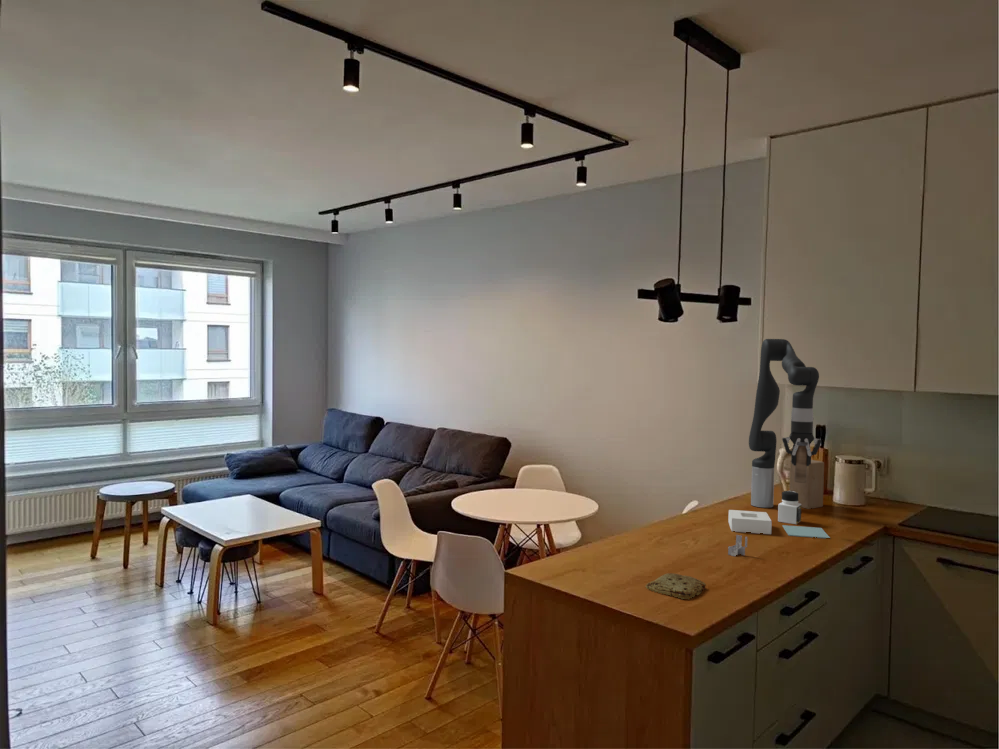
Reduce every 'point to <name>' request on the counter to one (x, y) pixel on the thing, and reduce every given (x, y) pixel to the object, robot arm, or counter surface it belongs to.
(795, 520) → the medicine bottle
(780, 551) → the counter surface
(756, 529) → the eye block
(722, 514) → the counter surface
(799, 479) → the pin
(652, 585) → the pastry
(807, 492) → the wooden block
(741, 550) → the grey upright blocky piece
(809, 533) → the mat
